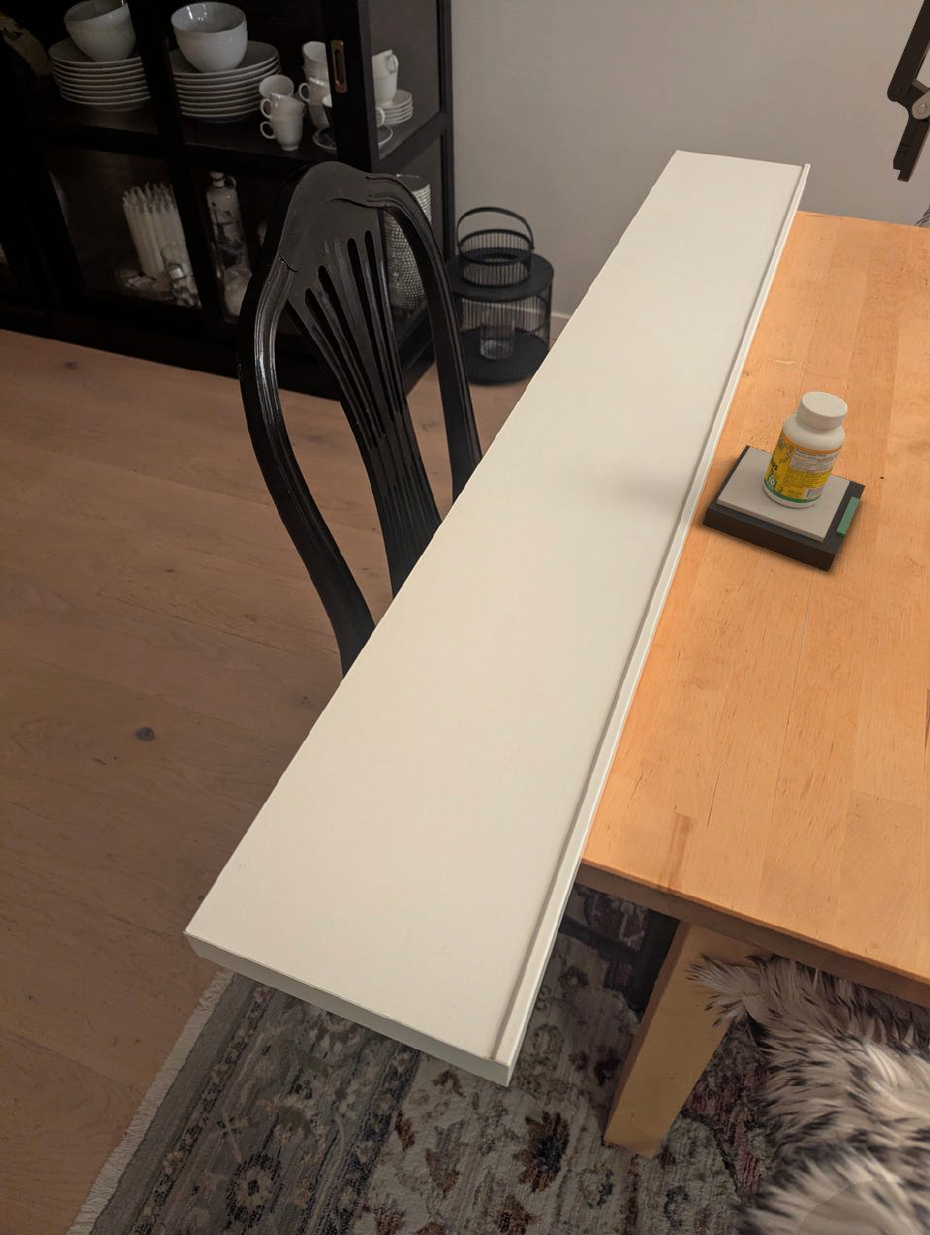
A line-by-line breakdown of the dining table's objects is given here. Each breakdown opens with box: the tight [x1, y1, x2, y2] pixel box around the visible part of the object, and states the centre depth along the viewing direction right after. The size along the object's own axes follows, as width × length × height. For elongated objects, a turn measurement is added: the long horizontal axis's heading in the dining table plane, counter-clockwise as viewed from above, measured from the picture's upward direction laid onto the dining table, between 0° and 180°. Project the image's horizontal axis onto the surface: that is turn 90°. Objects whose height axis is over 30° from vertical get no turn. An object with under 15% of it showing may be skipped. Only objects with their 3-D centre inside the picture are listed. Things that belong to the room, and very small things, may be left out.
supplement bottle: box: [763, 391, 849, 508], centre depth 80 cm, size 5×5×10 cm
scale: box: [702, 444, 866, 572], centre depth 84 cm, size 12×12×3 cm
